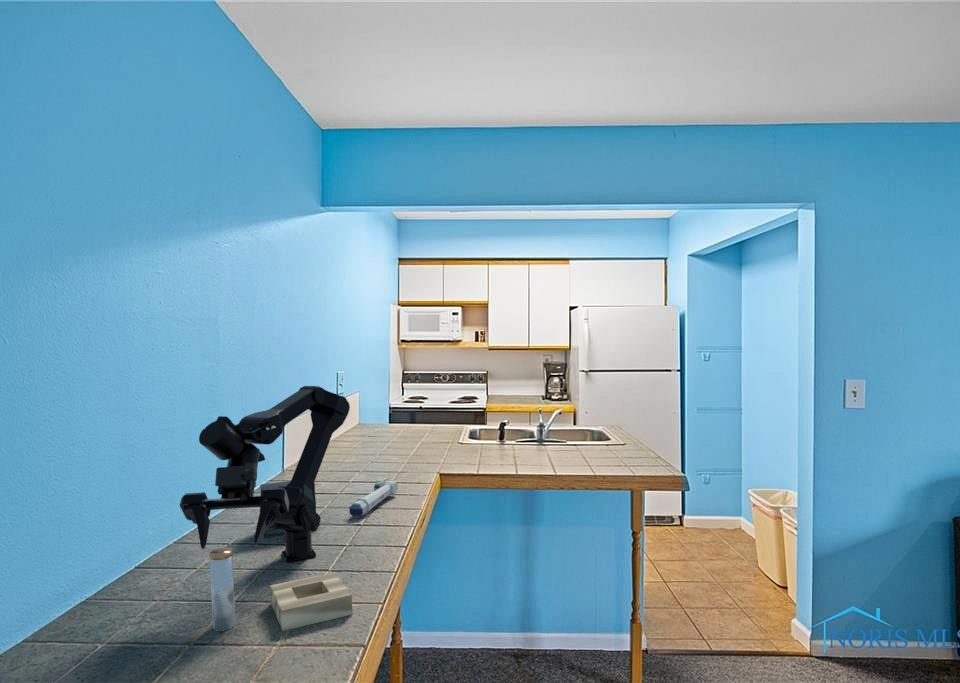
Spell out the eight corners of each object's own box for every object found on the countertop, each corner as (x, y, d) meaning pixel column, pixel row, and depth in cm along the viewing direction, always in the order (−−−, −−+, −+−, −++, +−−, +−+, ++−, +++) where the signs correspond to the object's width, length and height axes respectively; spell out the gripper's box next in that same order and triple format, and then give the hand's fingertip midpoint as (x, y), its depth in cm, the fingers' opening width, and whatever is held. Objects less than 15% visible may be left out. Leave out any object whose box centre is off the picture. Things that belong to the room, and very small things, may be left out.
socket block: (271, 604, 117) (270, 585, 117) (335, 589, 122) (334, 571, 122) (282, 631, 106) (281, 610, 106) (352, 614, 112) (351, 594, 111)
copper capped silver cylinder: (212, 624, 109) (208, 550, 109) (234, 619, 111) (231, 546, 111) (213, 633, 106) (210, 557, 106) (236, 628, 108) (233, 552, 107)
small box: (314, 522, 165) (313, 477, 165) (317, 530, 159) (316, 483, 159) (261, 530, 161) (259, 483, 160) (262, 538, 154) (260, 489, 154)
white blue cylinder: (362, 501, 167) (402, 476, 191) (340, 500, 169) (382, 475, 193) (363, 521, 167) (403, 493, 191) (341, 519, 169) (383, 492, 193)
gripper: (180, 450, 118) (161, 528, 107) (284, 445, 120) (275, 520, 109) (195, 482, 126) (179, 557, 115) (292, 476, 128) (285, 549, 117)
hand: (229, 545), depth 114 cm, fingers open, 9 cm apart
